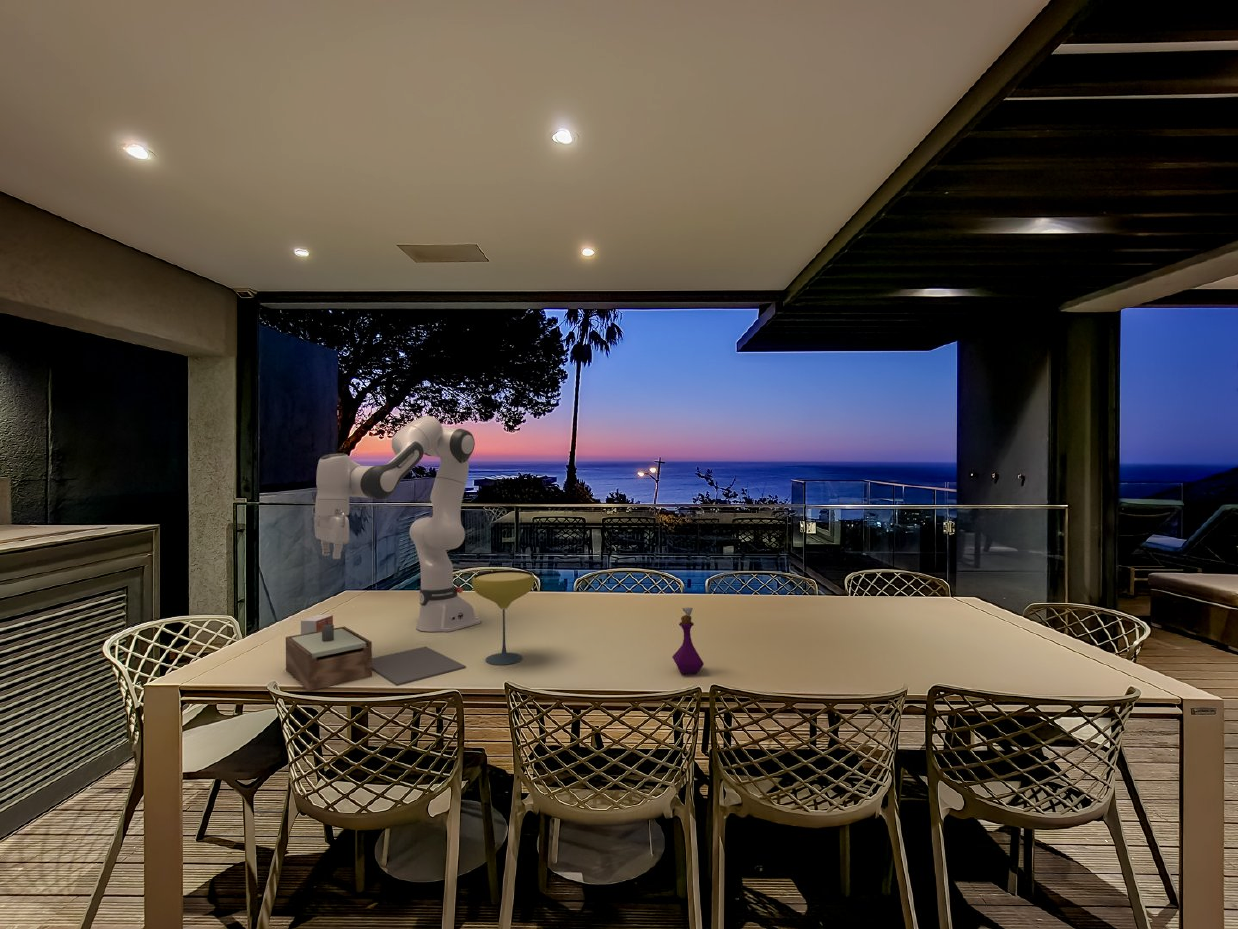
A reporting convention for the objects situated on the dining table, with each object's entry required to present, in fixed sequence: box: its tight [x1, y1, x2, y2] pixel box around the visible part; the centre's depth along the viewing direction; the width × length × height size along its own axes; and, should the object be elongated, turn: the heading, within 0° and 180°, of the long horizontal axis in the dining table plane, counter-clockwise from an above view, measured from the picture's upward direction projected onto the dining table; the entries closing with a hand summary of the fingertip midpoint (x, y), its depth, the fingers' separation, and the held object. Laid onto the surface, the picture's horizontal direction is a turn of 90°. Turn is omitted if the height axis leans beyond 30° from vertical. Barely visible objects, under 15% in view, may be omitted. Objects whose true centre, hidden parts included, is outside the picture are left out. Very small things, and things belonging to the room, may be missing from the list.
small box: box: [300, 614, 334, 634], centre depth 188 cm, size 8×6×10 cm
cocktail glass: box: [471, 569, 535, 666], centre depth 179 cm, size 18×18×25 cm
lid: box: [291, 623, 366, 658], centre depth 168 cm, size 14×20×5 cm
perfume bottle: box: [672, 607, 705, 676], centre depth 166 cm, size 8×8×18 cm
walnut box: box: [285, 626, 373, 692], centre depth 168 cm, size 16×22×9 cm
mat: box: [372, 646, 467, 687], centre depth 174 cm, size 20×26×1 cm
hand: (331, 557), depth 174 cm, fingers open, 8 cm apart
